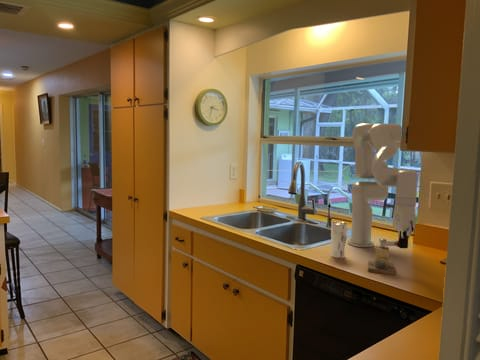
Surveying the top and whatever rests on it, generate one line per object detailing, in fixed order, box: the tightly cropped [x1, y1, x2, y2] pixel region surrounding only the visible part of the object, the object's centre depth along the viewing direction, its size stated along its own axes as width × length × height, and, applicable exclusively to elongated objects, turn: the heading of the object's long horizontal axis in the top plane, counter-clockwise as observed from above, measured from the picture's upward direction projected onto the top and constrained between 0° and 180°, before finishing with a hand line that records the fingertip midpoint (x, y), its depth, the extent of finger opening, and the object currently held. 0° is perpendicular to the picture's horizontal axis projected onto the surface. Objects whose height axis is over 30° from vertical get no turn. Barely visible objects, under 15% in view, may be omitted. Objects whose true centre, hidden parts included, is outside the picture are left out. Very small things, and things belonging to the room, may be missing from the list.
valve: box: [367, 245, 396, 276], centre depth 157 cm, size 10×10×9 cm
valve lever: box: [378, 238, 399, 248], centre depth 156 cm, size 10×3×3 cm, turn 89°
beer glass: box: [330, 221, 348, 259], centre depth 174 cm, size 7×7×15 cm
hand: (402, 247), depth 153 cm, fingers closed
